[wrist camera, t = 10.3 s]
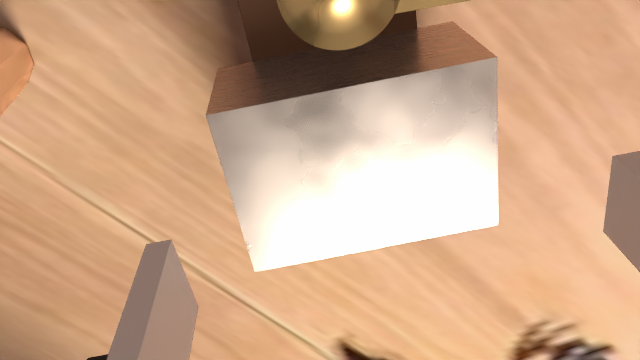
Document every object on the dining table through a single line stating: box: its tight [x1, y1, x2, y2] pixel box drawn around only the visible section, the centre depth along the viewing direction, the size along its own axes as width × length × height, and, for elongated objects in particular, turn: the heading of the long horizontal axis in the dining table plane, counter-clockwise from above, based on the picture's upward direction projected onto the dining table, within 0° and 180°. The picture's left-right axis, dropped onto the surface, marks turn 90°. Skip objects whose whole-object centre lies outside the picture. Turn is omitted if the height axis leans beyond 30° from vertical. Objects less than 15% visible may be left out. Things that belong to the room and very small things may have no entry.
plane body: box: [238, 0, 417, 61], centre depth 22 cm, size 17×7×10 cm, turn 10°
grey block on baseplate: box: [206, 21, 498, 272], centre depth 22 cm, size 10×7×5 cm
